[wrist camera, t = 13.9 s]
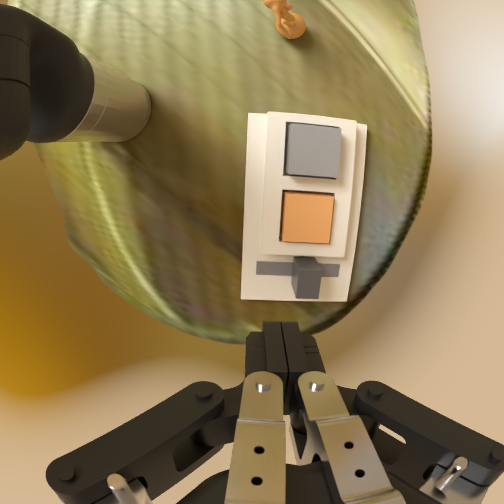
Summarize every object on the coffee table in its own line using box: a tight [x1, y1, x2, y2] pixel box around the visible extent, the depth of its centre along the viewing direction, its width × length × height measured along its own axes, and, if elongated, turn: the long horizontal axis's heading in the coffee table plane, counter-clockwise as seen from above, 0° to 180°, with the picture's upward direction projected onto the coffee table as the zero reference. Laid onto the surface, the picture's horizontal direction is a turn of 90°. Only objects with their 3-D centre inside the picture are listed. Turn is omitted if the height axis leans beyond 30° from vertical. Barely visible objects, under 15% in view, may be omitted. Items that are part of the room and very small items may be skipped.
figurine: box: [263, 0, 306, 40], centre depth 29 cm, size 8×6×12 cm
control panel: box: [241, 112, 367, 301], centre depth 41 cm, size 16×26×4 cm, turn 177°
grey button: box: [286, 123, 341, 178], centre depth 36 cm, size 6×6×3 cm
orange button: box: [280, 190, 334, 243], centre depth 40 cm, size 6×6×3 cm
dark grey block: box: [291, 256, 322, 299], centre depth 42 cm, size 3×4×5 cm
